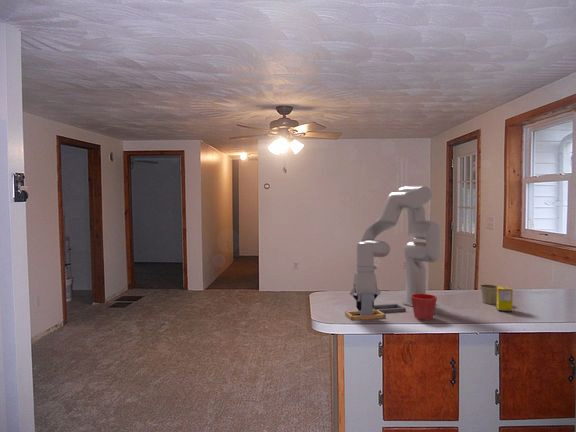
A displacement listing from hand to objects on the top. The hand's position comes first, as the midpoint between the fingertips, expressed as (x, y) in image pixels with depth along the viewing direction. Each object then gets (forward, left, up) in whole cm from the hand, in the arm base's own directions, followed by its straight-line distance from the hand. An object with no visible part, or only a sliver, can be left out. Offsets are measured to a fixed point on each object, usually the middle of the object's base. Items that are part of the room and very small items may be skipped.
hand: (365, 308), depth 180 cm
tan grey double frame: (-7, -4, -3) cm, 9 cm away
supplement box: (-69, +4, -4) cm, 69 cm away
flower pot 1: (-25, +7, -4) cm, 26 cm away
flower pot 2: (-72, -10, -4) cm, 73 cm away
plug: (0, 0, -2) cm, 2 cm away
